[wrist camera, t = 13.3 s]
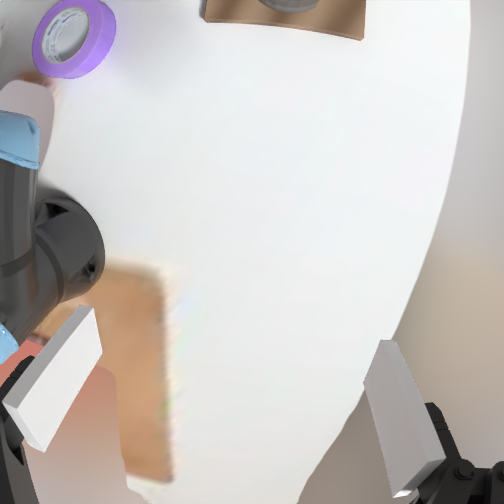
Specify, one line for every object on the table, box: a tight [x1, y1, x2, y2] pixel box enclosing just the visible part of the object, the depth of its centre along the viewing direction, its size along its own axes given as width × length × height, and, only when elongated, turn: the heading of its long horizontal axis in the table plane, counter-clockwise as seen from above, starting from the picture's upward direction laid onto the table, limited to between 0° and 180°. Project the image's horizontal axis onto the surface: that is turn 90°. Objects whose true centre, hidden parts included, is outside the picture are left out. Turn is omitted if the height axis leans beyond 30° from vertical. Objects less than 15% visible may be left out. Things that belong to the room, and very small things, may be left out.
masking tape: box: [32, 0, 116, 79], centre depth 29 cm, size 12×12×4 cm
